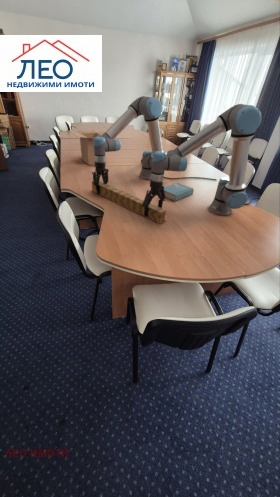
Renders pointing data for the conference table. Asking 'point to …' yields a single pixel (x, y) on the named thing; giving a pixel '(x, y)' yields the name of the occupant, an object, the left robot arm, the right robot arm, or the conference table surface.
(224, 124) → the right robot arm
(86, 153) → the box
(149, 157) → the left robot arm
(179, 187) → the book
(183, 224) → the conference table surface
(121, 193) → the post
